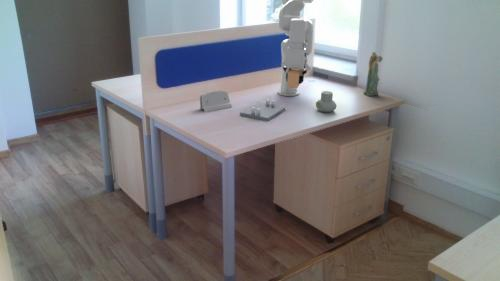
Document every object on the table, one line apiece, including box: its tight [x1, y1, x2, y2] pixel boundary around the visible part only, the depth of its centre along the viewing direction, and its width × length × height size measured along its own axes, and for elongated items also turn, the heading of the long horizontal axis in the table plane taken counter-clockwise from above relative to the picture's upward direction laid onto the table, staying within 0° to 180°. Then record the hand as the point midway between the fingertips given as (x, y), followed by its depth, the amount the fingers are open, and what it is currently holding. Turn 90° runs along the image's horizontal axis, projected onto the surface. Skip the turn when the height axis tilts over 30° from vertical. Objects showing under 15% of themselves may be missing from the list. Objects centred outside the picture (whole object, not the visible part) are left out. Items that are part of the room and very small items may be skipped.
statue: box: [363, 51, 383, 97], centre depth 278 cm, size 7×8×25 cm
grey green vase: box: [315, 90, 337, 113], centre depth 252 cm, size 11×8×10 cm
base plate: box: [239, 98, 286, 122], centre depth 248 cm, size 20×16×4 cm
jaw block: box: [287, 69, 301, 89], centre depth 234 cm, size 12×5×7 cm, turn 165°
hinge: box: [199, 90, 232, 113], centre depth 253 cm, size 17×5×10 cm, turn 121°
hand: (294, 81), depth 235 cm, fingers closed on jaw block, 5 cm apart
